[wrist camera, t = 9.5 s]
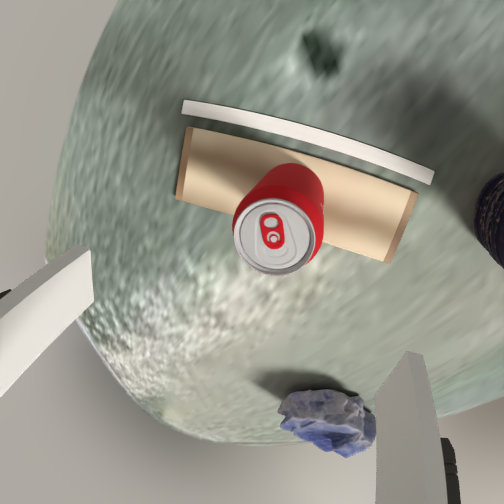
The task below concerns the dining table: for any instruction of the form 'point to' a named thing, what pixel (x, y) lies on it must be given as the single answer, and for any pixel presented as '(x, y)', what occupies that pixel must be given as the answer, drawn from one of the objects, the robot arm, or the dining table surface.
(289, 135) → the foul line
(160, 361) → the dining table surface
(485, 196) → the dark blue cylinder
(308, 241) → the beverage can
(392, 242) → the board
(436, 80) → the dining table surface
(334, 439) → the mineral
